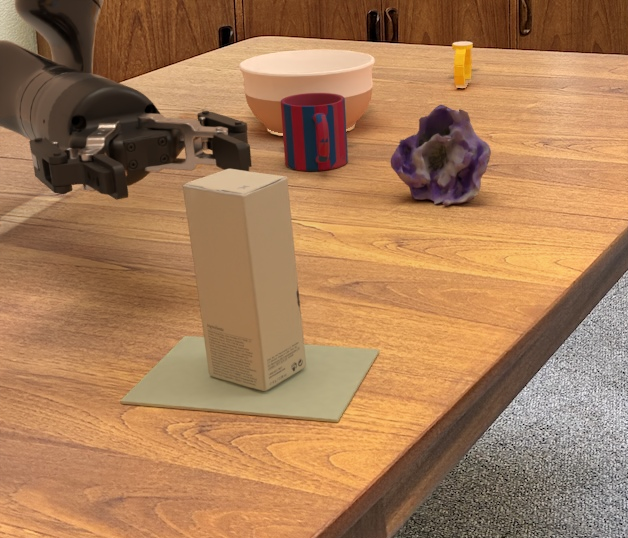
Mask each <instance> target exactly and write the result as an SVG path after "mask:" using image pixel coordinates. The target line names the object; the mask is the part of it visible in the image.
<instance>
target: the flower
mask: <svg viewBox="0 0 628 538" xmlns="http://www.w3.org/2000/svg"><path fill="white" fill-rule="evenodd" d="M491 155H492V149H491V146H490V144H489V143H488V142H487V141H484V140H483V139H482V138H480V137H479V136H478V135H477V133H476V132H475V130H474V128H473V125H472V123H471V118H470V115H469V112H467V111H466V110H464V109H462V108H461V109H460V108H459V109H458V110H457V109H452V108H449V107H448V106H446V105H444V104H438V105H437V106H436V107H434V109H433V110H432V111H431V112H430V113H429V114H428V115H425V116H422V117H420V118H419V119H418V131H417V132H416V133H414V134H412V135H410V136H408V137H405V139H404V138H403V139H400V141H399V143H398V145H397V146H396V148H395V151H394V153H393V154H392V155H391V157H390V167H391V169H392V171H394V172H395V173H396V175H397V176H398V178H399V179H400V180H401V181H402V182H403V184H405V185H406V186H407V187H408V188H409V191H410V195H411V198H412V199H413V200H421V201H423V200H430V201H433V203H434V204H433V205H438V204H442V205H443V206H450V205H452V204H454V205H455V204H464V203H467V202H469V201H473V200H474V199H475V197H476V196H477V195H478V194H479V192H480V190H481V187H482V186H481V185H482V184H481V183H482V177H483V176H484V175H485V174H486V172H487V168H488V165H489V162H490V160H491Z"/></svg>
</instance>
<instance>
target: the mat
mask: <svg viewBox="0 0 628 538" xmlns="http://www.w3.org/2000/svg"><path fill="white" fill-rule="evenodd" d="M304 347H305V358H306V367H305V368H303V369H302V370H300V371H299V372H297V373H295V374H294V375H292V376H290V377H289V378H287V379H286V380H284V381H282V382H281V383H279V384H277V385H276V386H274V387H272V388H270V389H268V390H266V391H262V390H258V389H255V388H249V387H246V386H244V385H240V384H237V383H233V382H230V381H226V380H222V379H219V378H216V377H213V376H211V375H210V374H209V369H208V362H207V355H206V347H205V340H204V336H195V335H184V336H183V337H182V338H181V339H180V340H179V341H178V342H177V343H176V344H175V345H174V346H173V347H172V348H171V349H170V350H169V351H167V353H166V354H165V355H164V356H163V357H162V358H161V359H160V360H159V361H158V362H157V363H156V364H155V365H154V366H153V367H152V368H151V369H150V370H149V371H148V372H147V373H146V374H145V375H144V376H143V377H142V378H141V379H140V380H139V381H138V382H137V383H136V384H135V385H134V386H133V387H132V388H131V389H130V390H129V391H128V392H127V394H125V395H124V396H123V398H121V399H120V400H119V403H120V405H121V404H122V405H130V406H131V405H133V406H145V407H156V408H168V409H178V410H188V411H189V410H190V411H201V412H215V413H225V414H235V415H237V414H238V415H247V416H248V415H249V416H259V417H270V418H282V419H294V420H305V421H306V420H307V421H318V422H327V423H339V422H340V419H341V418H342V416H343V414H344V413H345V411H346V409H347V407H348V406H349V405H350V403H351V401H352V399H353V398H354V396H355V394H356V393H357V391H358V389H359V387H360V386H361V384H362V382H363V381H364V379H365V377H366V375H367V374H368V372H369V370H370V369H371V367H372V365H373V363H374V362H375V361H376V359H377V357H378V356H379V354H380V349H378V348H364V347H351V346H336V345H322V344H308V343H304Z"/></svg>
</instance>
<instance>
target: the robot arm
mask: <svg viewBox="0 0 628 538" xmlns="http://www.w3.org/2000/svg"><path fill="white" fill-rule="evenodd" d="M104 2H105V0H14V8H15V11H16V13H17V14H18V16H19V17H20V19H22V20H23V21H24V22H25V23H26V25H28V26H30V27H31V28H32V29H34V30H35V31H36V32H37V33H38V34H39V35H40V36H41V37H43V38H44V40H45V41H46V42H47V44H48V46H49V49H50V53H51V59H50V58H47V57H45V56H43V55H40V54H39V53H37V52H35V51H32V50H30V49H29V48H26V47H24V46H22V45H20V44H18V43H15V42H13V41H11V40H6V39H5V40H3V39H0V128H3V129H5V130H9V131H11V132H13V133H16V134H18V135H20V136H22V137H24V138H25V139H28V140H29V142H28V143H29V147H30V148H29V149H30V154H31V161H32V166H33V172H34V176H35V178H36V179H38V180H39V181H40V182H41V183H42V184H44V186H45V187H46V188H48V189H49V190H50V191H52V192H53V193H54V194H59V195H66V194H68V193H70V192H73V186H75V185H76V186H77V185H82V188H83V189H82V190H83V191H89V192H98V193H100V194H101V195H108V196H109V197H111V198H112V199H114V200H116V201H118V200H123V199H127V198H129V188H128V187H130V186H132V185H135V184H137V183H139V182H141V181H142V180H143V179H145V178H146V177H147V176H148V175H149V174H150V173H151V172H153V173H158V172H161V171H164V170H173V171H175V170H176V171H188V172H189V171H190V172H192V171H195V170H197V169H199V168H200V167H202V166H216V167H217V168H220V169H221V170H226V169H236V170H243V171H250V168H252V155H251V154H252V152H251V145H250V144H249V139H248V123H247V122H245V121H242V120H239V119H235V118H233V117H231V116H230V117H229V116H226V115H223V114H221V113H217V112H214V111H210V110H202V111H200V112H198V113H197V119H196V118H182V117H181V118H180V117H166V116H164V114H162V113H161V112H160V111H159V109H158V107H157V106H156V105H155V103H154V102H153V101H152V100H151V99H150V98H149V97H148V96H146V95H145V94H144V93H143V92H141V91H139V90H138V89H135V88H133V87H131V86H128V85H125V84H123V83H121V82H118V81H115V80H112V79H110V78H108V77H105V76H102V75H100V74H95V73H94V57H95V56H94V54H95V42H96V32H97V26H98V21H99V18H100V14H101V11H102V8H103V5H104ZM208 150H209V151H211V153H206V152H205V151H208ZM183 151H184V152H185V153H184V154H185V158H181V157H179V155H180V154H181V153H182V152H183Z"/></svg>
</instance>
